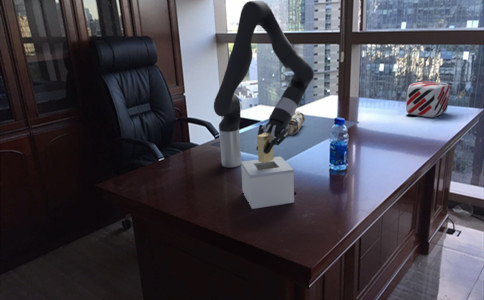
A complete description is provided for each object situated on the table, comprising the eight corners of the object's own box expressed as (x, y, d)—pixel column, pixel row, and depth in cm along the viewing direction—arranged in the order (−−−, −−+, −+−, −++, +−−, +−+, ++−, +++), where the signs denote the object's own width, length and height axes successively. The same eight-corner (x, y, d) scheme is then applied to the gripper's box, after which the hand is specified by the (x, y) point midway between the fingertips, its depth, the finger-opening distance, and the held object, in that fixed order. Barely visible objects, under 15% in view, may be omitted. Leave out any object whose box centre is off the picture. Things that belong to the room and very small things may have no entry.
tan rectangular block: (258, 161, 148) (257, 135, 144) (267, 157, 151) (266, 132, 148) (264, 163, 146) (262, 137, 142) (273, 159, 149) (272, 133, 145)
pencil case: (298, 135, 227) (298, 118, 224) (283, 135, 230) (283, 118, 227) (305, 125, 247) (305, 109, 244) (291, 124, 249) (291, 109, 246)
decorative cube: (418, 109, 269) (421, 79, 263) (449, 113, 255) (452, 82, 248) (403, 114, 258) (405, 83, 251) (433, 119, 243) (437, 86, 236)
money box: (242, 192, 158) (240, 161, 154) (281, 186, 162) (280, 156, 157) (252, 208, 144) (250, 175, 140) (294, 202, 148) (293, 169, 143)
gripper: (264, 104, 152) (242, 143, 148) (293, 109, 142) (270, 150, 138) (274, 115, 157) (253, 152, 153) (302, 120, 147) (281, 160, 143)
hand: (261, 151), depth 146 cm, fingers closed on tan rectangular block, 3 cm apart
